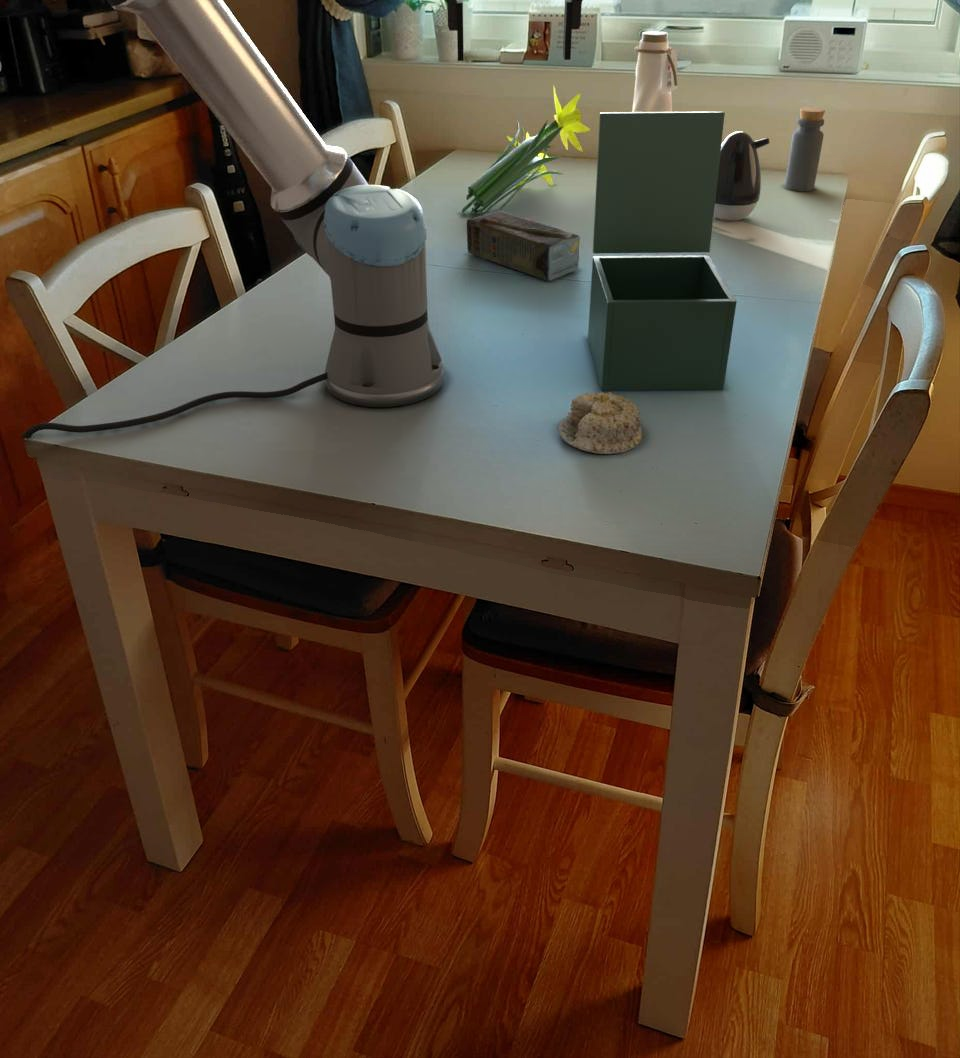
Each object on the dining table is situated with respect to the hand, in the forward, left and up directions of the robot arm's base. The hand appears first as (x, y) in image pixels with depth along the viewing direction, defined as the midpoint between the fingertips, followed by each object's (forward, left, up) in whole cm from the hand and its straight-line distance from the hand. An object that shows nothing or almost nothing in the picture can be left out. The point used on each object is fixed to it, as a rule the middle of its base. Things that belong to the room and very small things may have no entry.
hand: (513, 58), depth 125 cm
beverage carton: (+14, +18, -35) cm, 42 cm away
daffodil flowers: (+35, +49, -35) cm, 70 cm away
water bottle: (+63, +45, -35) cm, 85 cm away
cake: (-11, -36, -35) cm, 51 cm away
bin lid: (+12, -17, -14) cm, 25 cm away
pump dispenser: (+61, +18, -35) cm, 73 cm away
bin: (+7, -24, -35) cm, 43 cm away
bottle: (+87, +25, -35) cm, 97 cm away
